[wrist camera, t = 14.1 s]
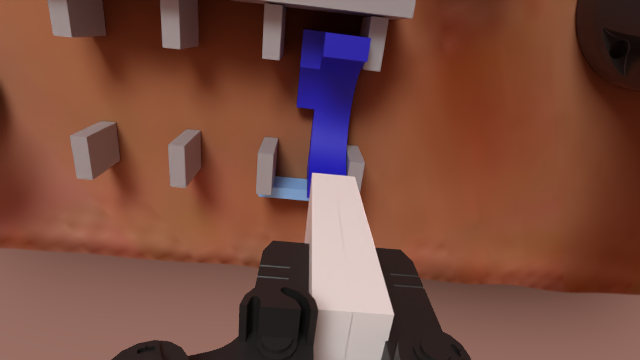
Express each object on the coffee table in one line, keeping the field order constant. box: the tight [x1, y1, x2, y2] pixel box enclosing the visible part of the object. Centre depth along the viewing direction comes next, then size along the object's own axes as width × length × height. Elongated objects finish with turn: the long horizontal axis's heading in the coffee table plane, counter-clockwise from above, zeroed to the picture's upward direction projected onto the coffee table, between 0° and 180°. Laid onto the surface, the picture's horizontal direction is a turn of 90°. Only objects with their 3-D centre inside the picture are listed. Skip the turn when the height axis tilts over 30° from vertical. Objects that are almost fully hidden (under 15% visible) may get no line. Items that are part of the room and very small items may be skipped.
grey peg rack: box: [48, 0, 416, 201], centre depth 28 cm, size 25×16×6 cm, turn 84°
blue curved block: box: [297, 29, 371, 198], centre depth 29 cm, size 12×4×6 cm, turn 173°
